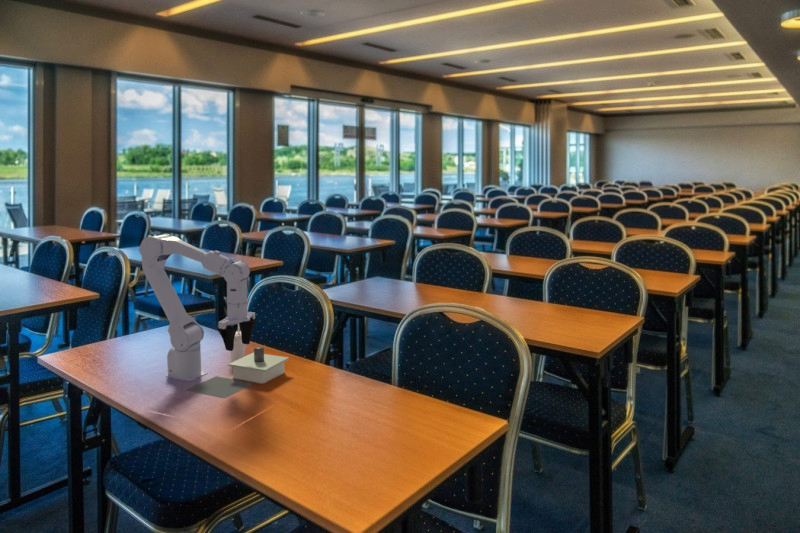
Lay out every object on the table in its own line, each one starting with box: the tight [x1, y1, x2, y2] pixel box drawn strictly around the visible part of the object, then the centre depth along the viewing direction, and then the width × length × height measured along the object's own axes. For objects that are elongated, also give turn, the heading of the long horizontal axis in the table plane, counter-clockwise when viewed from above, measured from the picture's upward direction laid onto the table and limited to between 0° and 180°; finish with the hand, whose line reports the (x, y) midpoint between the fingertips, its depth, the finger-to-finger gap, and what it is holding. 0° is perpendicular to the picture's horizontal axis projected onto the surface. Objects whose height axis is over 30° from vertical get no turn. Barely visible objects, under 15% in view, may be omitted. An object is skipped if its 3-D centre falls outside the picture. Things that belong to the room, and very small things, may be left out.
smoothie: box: [229, 323, 246, 363], centre depth 196 cm, size 6×6×14 cm
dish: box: [232, 362, 286, 385], centre depth 183 cm, size 11×11×4 cm
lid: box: [227, 346, 290, 372], centre depth 182 cm, size 13×13×5 cm
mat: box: [185, 375, 254, 399], centre depth 173 cm, size 14×13×1 cm
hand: (237, 347), depth 178 cm, fingers open, 7 cm apart
